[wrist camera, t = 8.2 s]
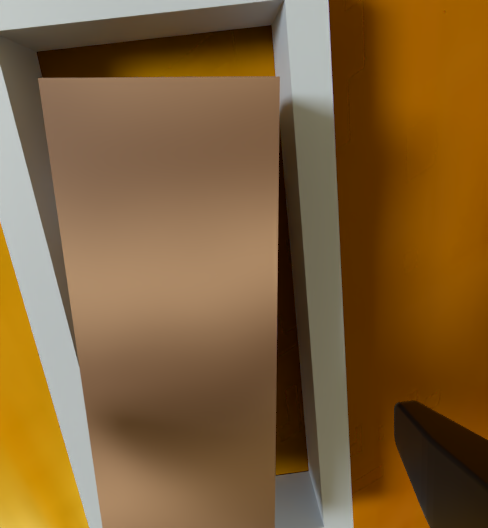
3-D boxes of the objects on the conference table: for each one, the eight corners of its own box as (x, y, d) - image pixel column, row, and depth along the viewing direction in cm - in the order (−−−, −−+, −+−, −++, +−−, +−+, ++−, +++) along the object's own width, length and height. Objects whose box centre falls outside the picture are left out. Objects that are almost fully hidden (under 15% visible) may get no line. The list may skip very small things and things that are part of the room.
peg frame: (335, 487, 21) (354, 544, 18) (120, 517, 20) (104, 580, 18) (303, -20, 14) (325, -57, 11) (-10, 15, 14) (-68, -15, 11)
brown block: (260, 480, 18) (274, 592, 13) (138, 488, 17) (113, 603, 13) (259, 94, 13) (279, 76, 9) (96, 95, 13) (37, 77, 9)
